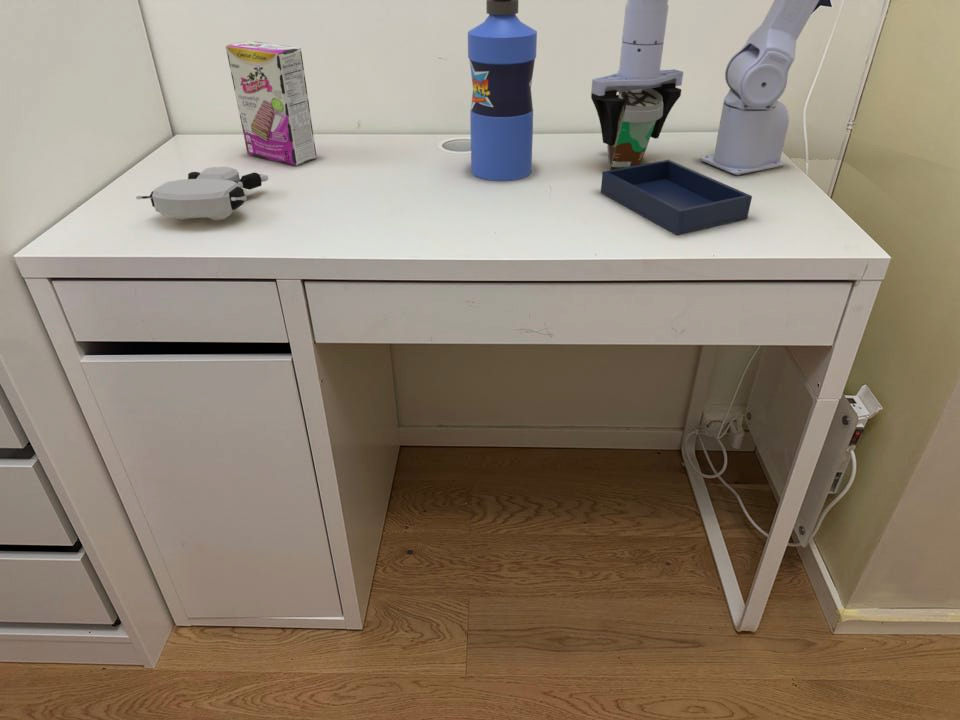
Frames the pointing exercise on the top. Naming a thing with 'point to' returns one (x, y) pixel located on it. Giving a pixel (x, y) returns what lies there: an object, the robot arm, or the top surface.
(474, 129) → the water bottle
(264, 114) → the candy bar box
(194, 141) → the top surface
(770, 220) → the top surface
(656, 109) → the food container
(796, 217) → the top surface
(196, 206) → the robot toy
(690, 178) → the rectangular tray
